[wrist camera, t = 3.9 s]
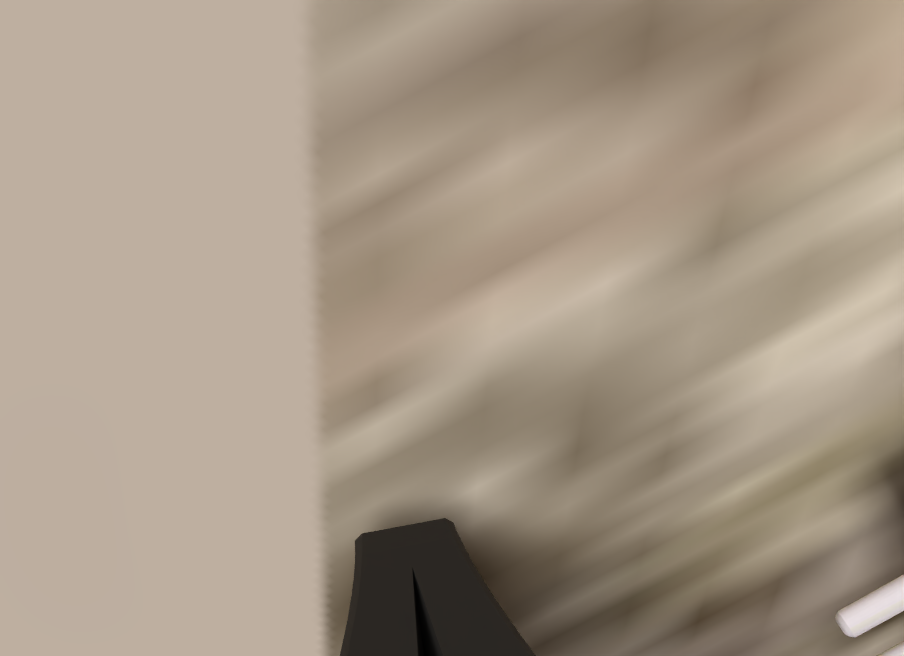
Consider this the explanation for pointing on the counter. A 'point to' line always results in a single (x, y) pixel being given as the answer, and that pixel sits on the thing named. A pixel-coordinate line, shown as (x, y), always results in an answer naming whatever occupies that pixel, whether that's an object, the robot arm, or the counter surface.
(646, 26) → the counter surface
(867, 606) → the charger
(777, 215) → the counter surface
